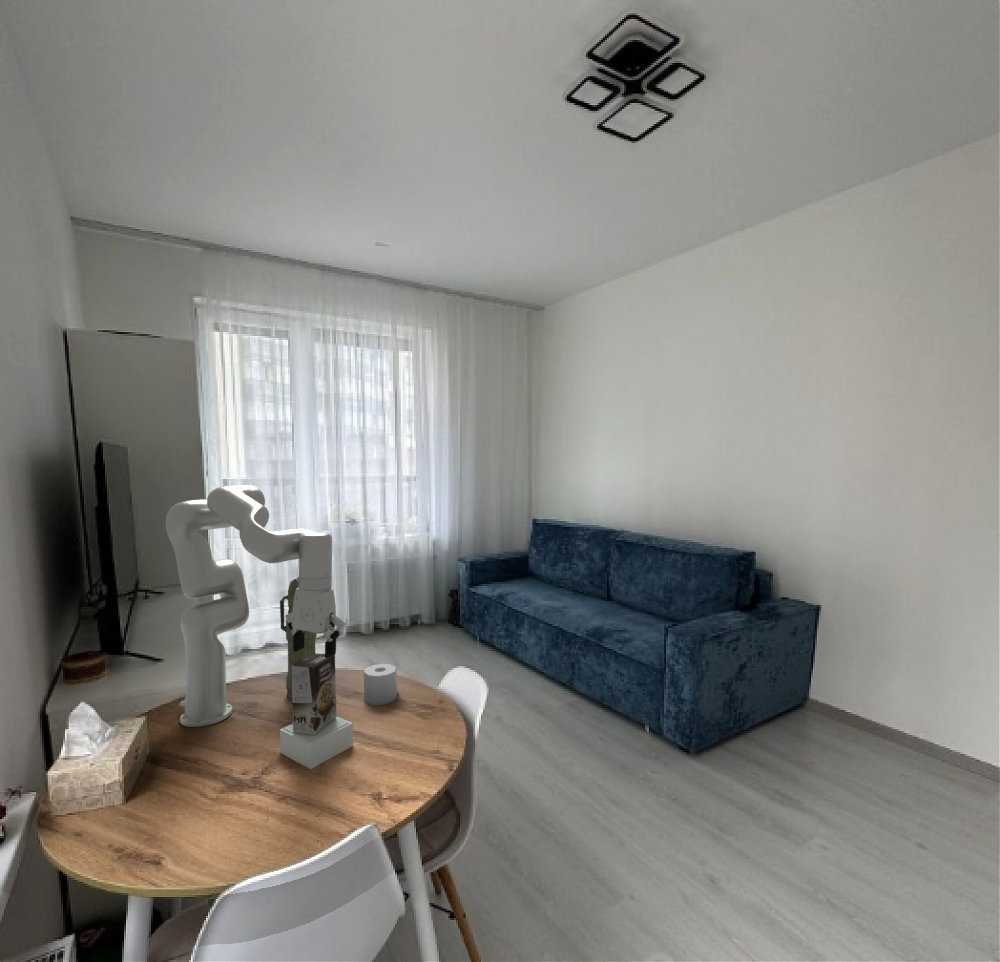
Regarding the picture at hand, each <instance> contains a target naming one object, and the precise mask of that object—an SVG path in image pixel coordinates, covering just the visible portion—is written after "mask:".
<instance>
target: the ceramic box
mask: <svg viewBox="0 0 1000 962" xmlns="http://www.w3.org/2000/svg"><path fill="white" fill-rule="evenodd" d="M353 723H354V722H351V721H349V720H346V719H344V718H342V717H339V716H337V718H336V719H334V720H333V721H332V722H331V723H329V724H328V725H327V726H326V727H324V728H323V729H322V730H321V731H319V732H318V733H317V734H316V735H309V734H303V733H296V732H293V723H292V724H289V725H287V726H285V727H283V728H280V729H279V753H280V754H282V755H283V756H284V757H287V758H289V759H291V760H293V761H295V762H296V763H298V764H300V765H302V766H303V767H306V768H308V769H310V770H312V769H314V768H315V767H317V766H319V765H321V764H322V763H324V762H327V761H328V760H329V759H331V758H333V757H336V756H337V755H339V754H340V753H342V752H344V751H346V750H348V749H349V748H352V747H353V746H354V728H353V727H354V724H353Z"/></svg>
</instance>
